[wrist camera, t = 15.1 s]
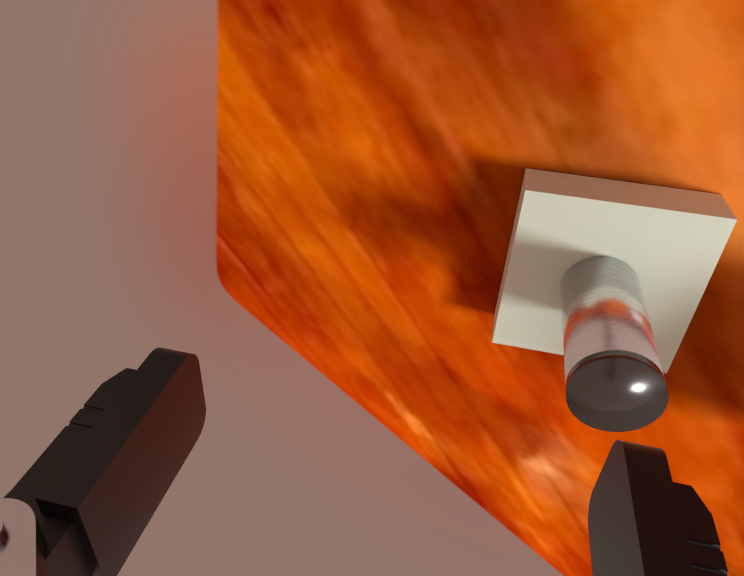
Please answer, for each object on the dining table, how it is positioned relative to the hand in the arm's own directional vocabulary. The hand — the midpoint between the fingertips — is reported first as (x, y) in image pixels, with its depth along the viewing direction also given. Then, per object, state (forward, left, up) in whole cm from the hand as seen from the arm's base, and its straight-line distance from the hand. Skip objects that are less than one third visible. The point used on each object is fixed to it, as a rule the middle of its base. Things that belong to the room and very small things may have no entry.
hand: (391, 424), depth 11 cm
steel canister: (+16, +11, -32) cm, 37 cm away
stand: (+16, +11, -36) cm, 41 cm away
